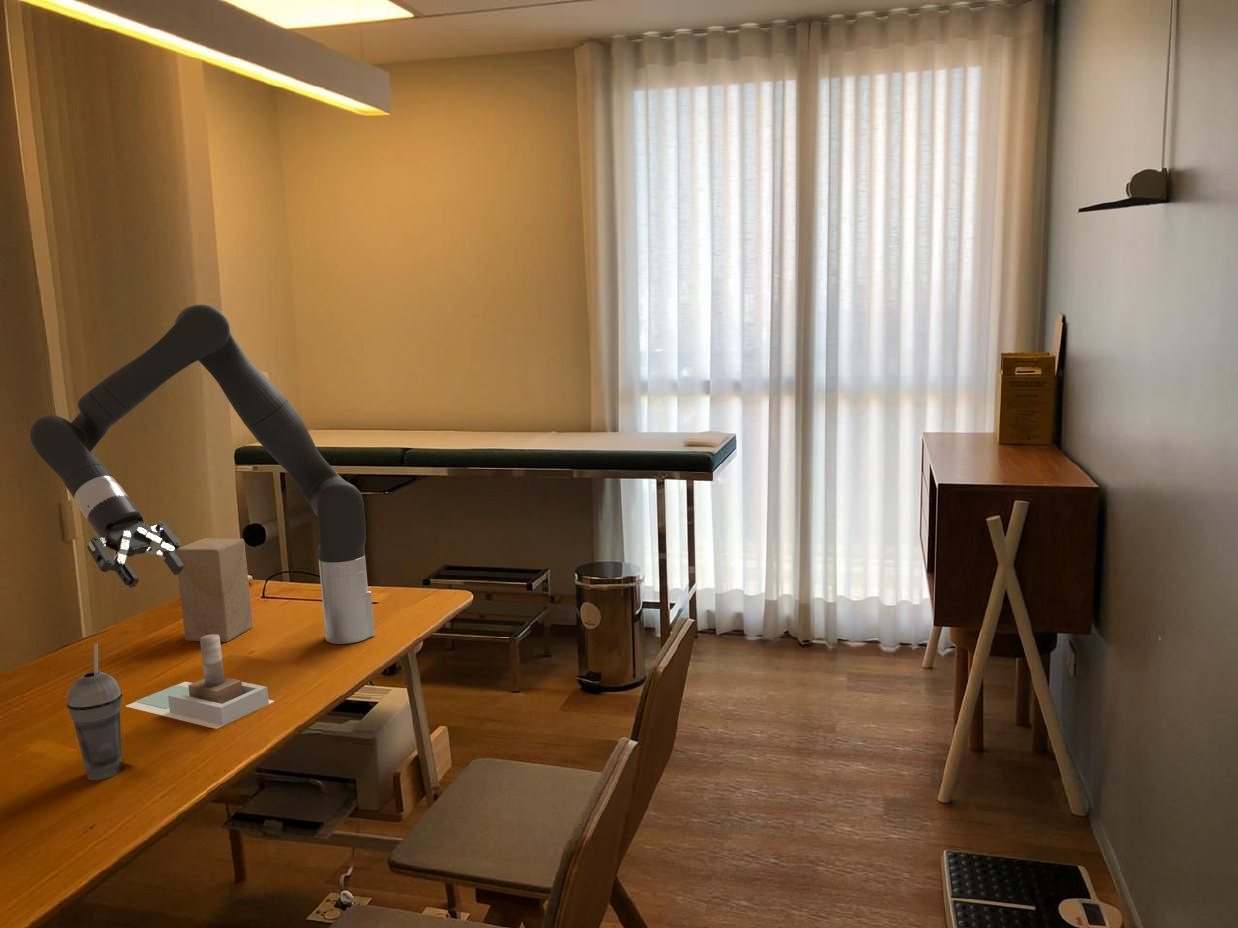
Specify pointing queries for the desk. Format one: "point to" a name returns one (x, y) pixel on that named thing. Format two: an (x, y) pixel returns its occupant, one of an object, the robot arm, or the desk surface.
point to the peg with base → (214, 675)
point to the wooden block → (214, 589)
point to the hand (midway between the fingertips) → (157, 577)
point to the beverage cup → (97, 721)
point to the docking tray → (203, 705)
